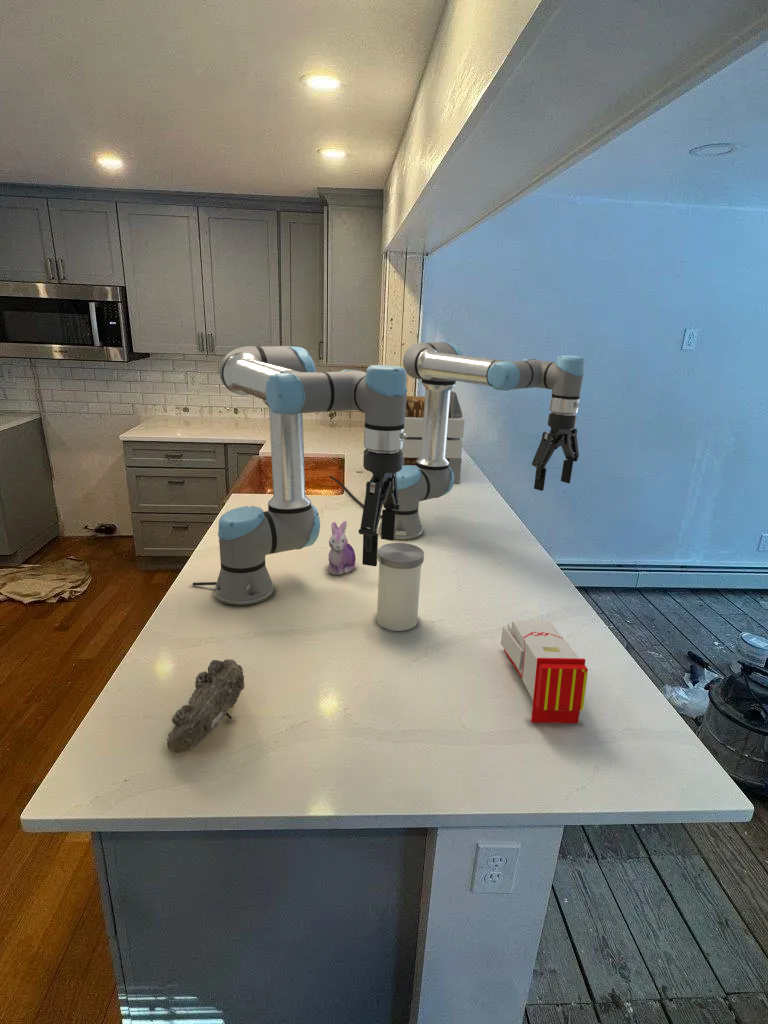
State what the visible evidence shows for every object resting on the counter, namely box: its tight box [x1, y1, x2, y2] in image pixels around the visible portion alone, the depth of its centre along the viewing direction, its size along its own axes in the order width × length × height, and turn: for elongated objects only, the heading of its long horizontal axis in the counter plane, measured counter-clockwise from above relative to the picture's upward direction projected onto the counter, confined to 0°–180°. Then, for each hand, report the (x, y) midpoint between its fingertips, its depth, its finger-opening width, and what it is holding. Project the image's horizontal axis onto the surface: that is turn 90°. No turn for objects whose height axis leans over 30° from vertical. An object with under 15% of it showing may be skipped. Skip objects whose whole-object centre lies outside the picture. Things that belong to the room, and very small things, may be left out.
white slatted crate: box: [401, 390, 465, 484], centre depth 268 cm, size 34×33×41 cm
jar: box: [376, 561, 422, 632], centre depth 141 cm, size 10×10×19 cm
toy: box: [500, 620, 589, 724], centre depth 121 cm, size 12×13×30 cm
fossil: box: [166, 658, 245, 754], centre depth 106 cm, size 22×10×15 cm
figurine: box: [327, 520, 357, 576], centre depth 168 cm, size 9×10×15 cm
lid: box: [377, 542, 425, 569], centre depth 138 cm, size 11×11×2 cm
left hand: (379, 551), depth 115 cm, fingers open, 13 cm apart
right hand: (552, 485), depth 166 cm, fingers open, 13 cm apart
